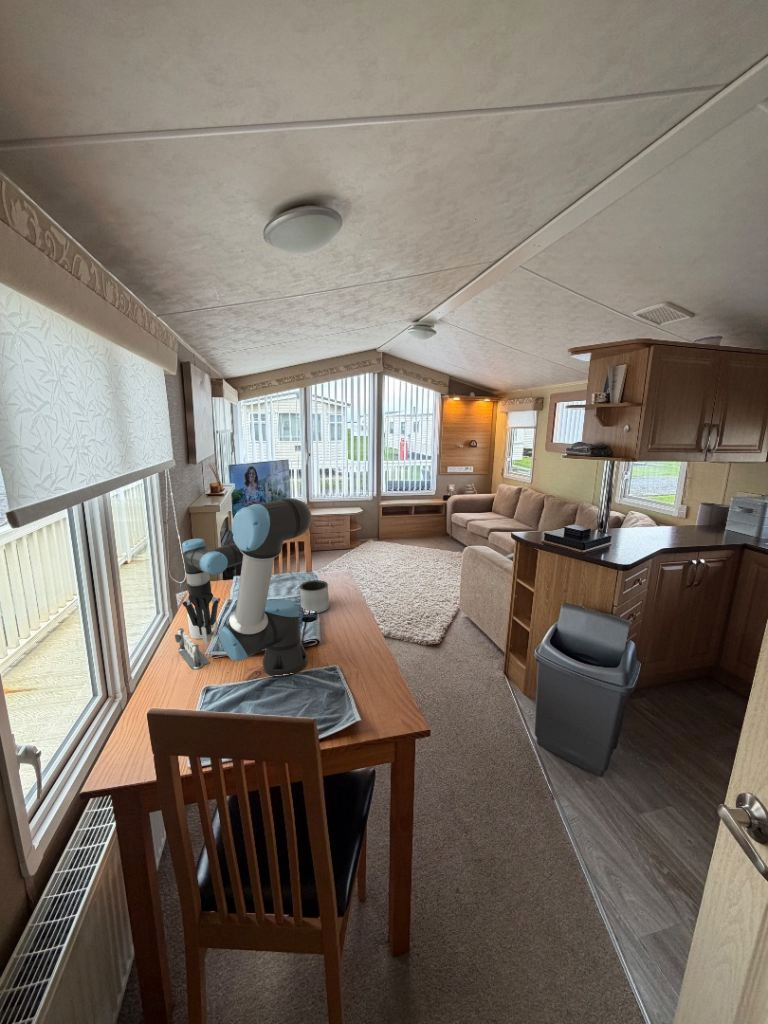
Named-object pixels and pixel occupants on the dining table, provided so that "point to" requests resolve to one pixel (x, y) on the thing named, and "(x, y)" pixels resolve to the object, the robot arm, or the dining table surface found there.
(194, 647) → the gateposts
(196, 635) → the mug
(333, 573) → the dining table surface
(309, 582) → the planter
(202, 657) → the grey flat plate
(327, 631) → the dining table surface
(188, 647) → the gate
